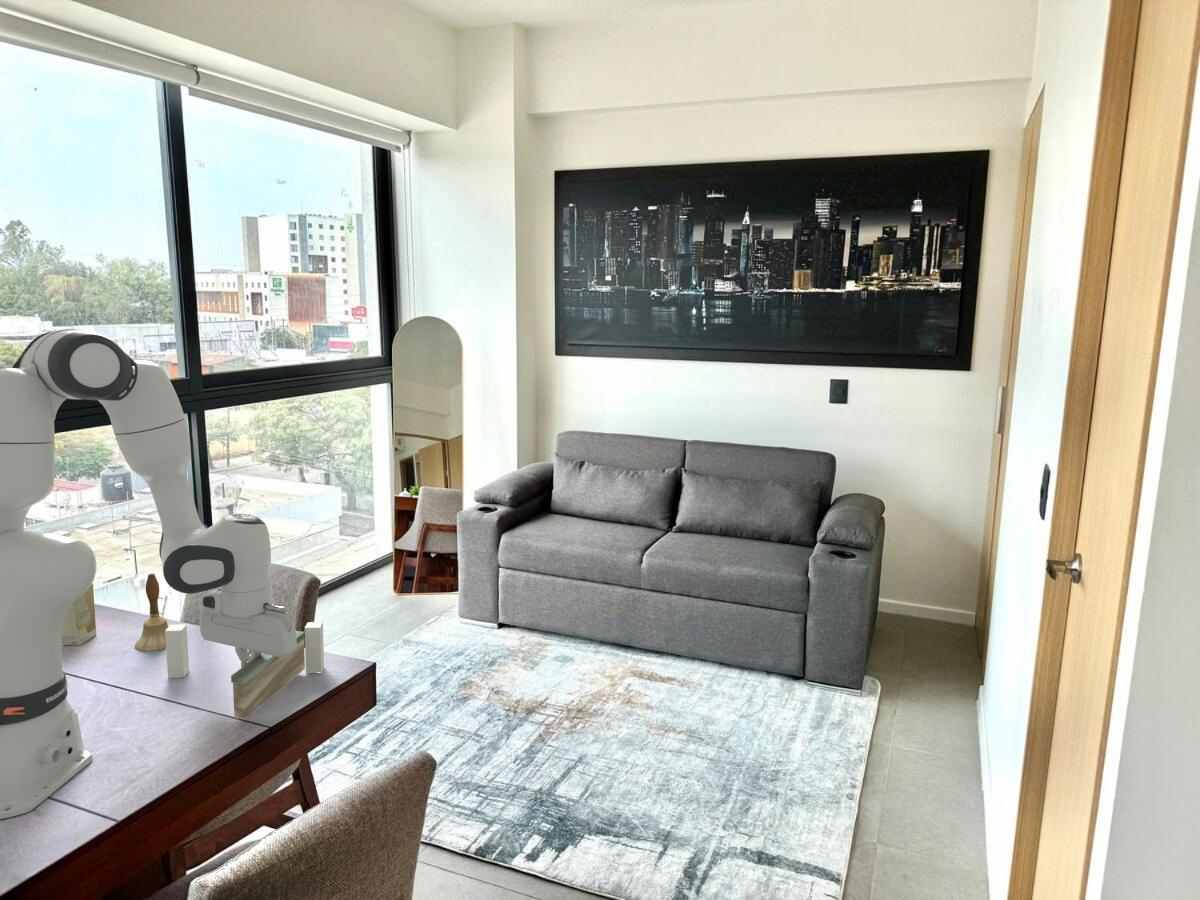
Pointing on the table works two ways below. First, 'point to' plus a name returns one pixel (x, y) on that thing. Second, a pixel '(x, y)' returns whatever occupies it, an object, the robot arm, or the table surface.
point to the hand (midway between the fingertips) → (249, 668)
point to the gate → (265, 678)
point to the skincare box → (79, 620)
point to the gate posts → (180, 661)
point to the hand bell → (153, 621)
